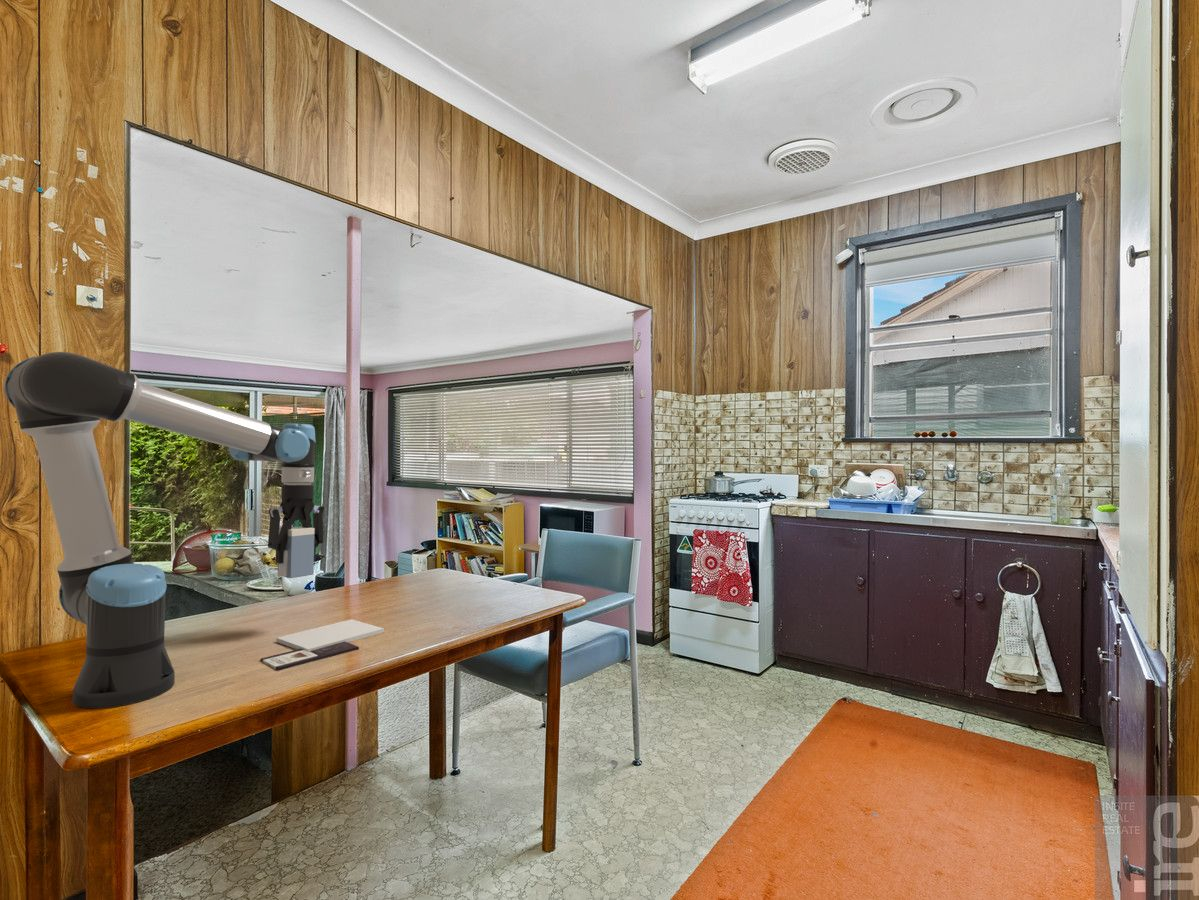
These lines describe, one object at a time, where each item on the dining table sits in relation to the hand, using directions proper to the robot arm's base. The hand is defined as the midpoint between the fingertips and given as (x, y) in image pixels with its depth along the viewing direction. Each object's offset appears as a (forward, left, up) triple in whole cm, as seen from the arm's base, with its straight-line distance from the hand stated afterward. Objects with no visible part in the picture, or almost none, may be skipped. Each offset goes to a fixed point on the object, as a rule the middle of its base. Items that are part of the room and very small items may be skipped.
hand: (295, 573), depth 152 cm
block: (0, 0, 0) cm, 0 cm away
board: (+3, -12, -15) cm, 19 cm away
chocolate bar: (-7, -20, -15) cm, 27 cm away
